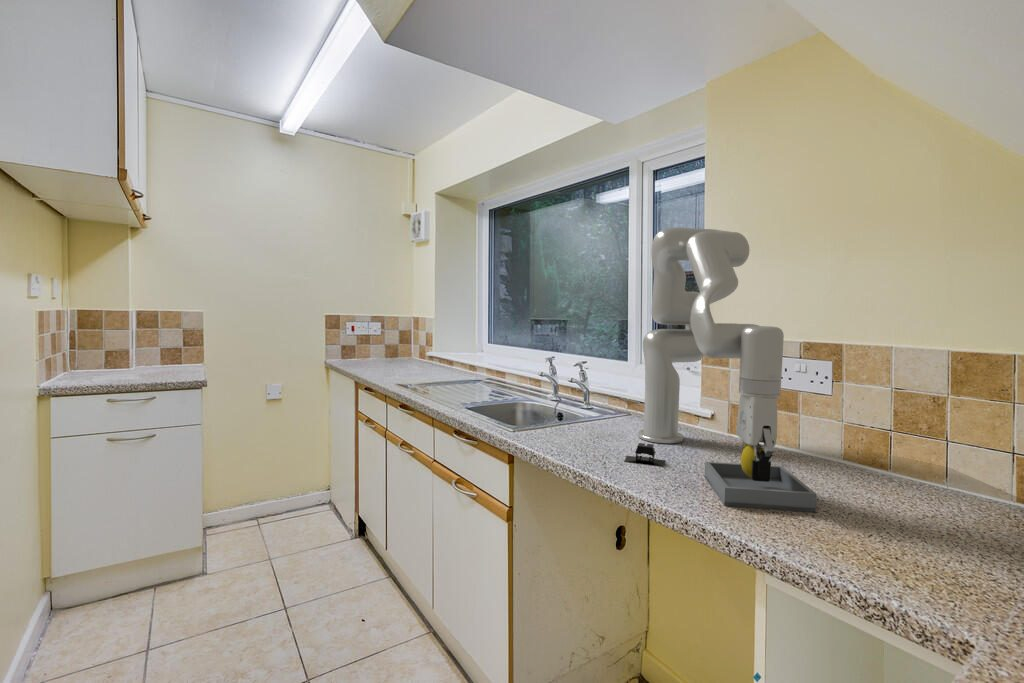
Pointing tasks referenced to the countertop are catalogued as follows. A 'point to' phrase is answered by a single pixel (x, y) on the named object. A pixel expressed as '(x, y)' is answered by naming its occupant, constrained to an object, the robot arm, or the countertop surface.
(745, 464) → the lemon
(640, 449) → the black arched block
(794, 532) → the countertop surface
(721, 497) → the tray
